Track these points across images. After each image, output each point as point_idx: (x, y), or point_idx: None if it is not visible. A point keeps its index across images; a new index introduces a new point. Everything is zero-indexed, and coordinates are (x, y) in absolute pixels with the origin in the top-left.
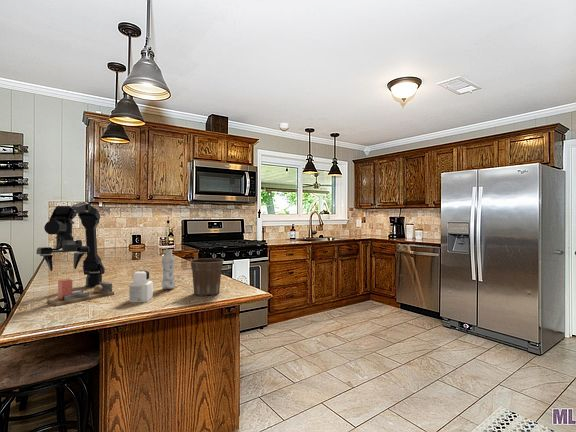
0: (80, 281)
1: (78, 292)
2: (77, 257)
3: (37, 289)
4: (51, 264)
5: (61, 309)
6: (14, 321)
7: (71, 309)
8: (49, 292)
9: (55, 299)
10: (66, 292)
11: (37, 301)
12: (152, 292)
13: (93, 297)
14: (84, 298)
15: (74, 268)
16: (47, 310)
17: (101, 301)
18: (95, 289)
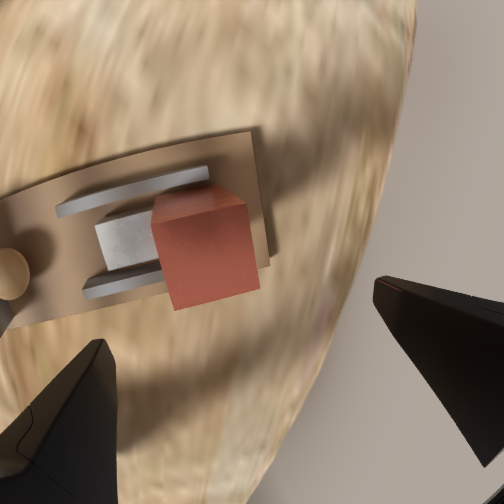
0: None
1: (114, 219)
2: (29, 465)
3: (244, 470)
4: (443, 300)
5: (247, 46)
6: (402, 32)
7: (210, 13)
8: (219, 430)
9: None
10: (194, 193)
11: (292, 305)
12: None
13: (48, 181)
14: (95, 165)
15: (110, 353)
16: (300, 79)
17: (39, 84)
18: (19, 258)
